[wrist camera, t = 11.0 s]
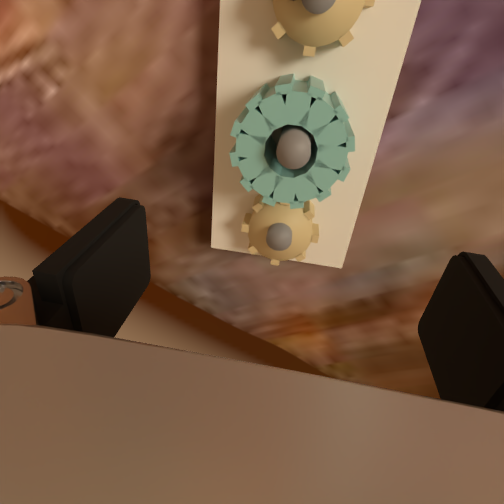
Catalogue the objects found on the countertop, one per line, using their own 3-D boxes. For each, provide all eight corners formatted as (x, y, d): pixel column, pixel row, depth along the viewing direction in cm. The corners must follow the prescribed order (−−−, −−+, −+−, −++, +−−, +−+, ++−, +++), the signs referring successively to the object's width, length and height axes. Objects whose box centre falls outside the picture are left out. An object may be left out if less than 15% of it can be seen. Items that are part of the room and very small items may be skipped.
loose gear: (359, 80, 23) (369, 92, 19) (334, 187, 27) (338, 215, 23) (246, 67, 24) (233, 76, 19) (239, 174, 28) (226, 200, 24)
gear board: (433, -70, 20) (494, -118, 13) (340, 256, 33) (347, 314, 26) (230, -89, 21) (193, -144, 14) (215, 236, 34) (192, 288, 27)
